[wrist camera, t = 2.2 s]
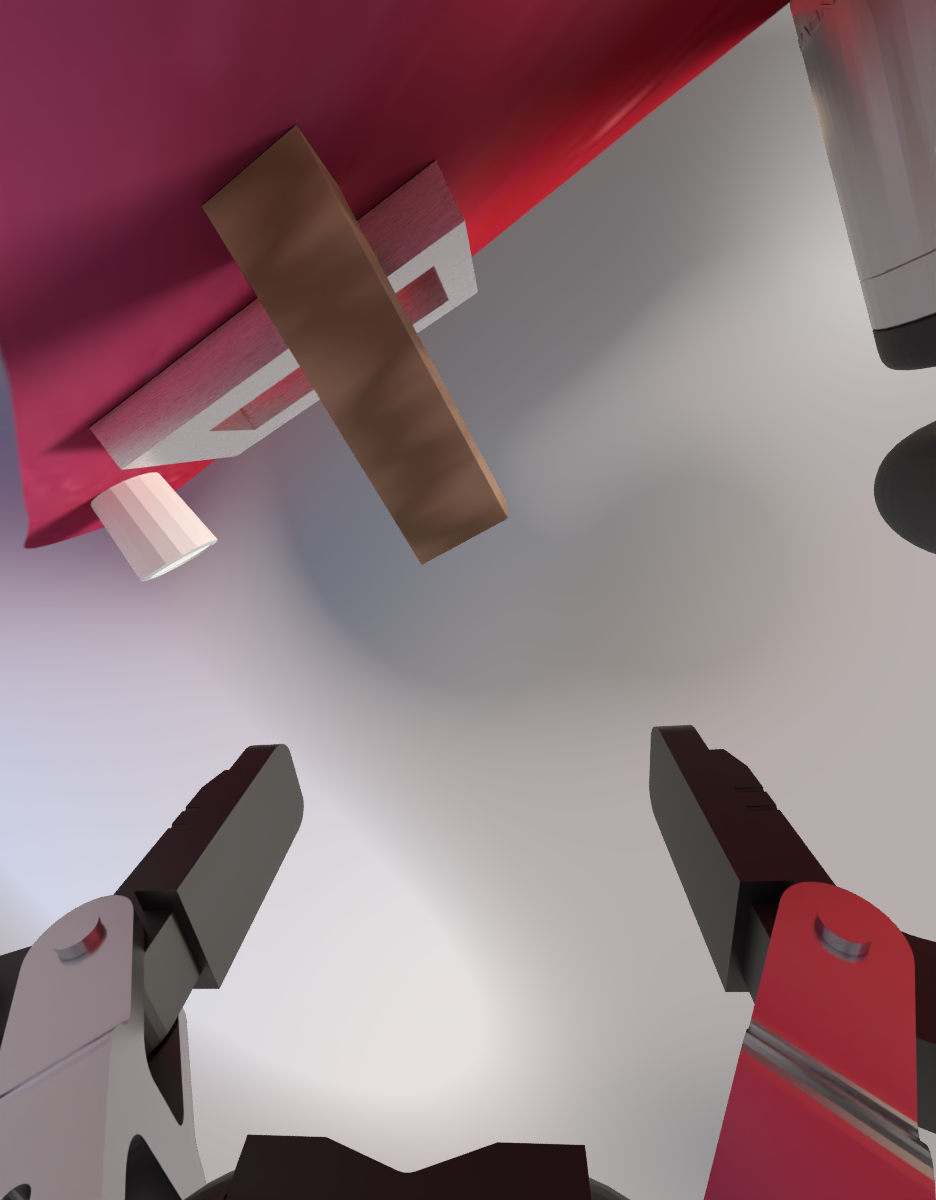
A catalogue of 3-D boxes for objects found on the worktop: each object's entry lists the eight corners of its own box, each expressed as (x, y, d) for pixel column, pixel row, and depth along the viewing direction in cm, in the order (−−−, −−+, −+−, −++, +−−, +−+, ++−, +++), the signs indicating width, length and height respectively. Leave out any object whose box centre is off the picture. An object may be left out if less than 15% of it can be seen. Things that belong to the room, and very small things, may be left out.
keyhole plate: (436, 159, 20) (464, 220, 21) (459, 254, 31) (477, 292, 32) (89, 428, 25) (121, 469, 26) (216, 426, 36) (236, 455, 37)
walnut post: (296, 124, 14) (507, 518, 18) (338, 186, 18) (506, 502, 22) (201, 206, 15) (421, 564, 19) (260, 249, 19) (434, 542, 23)
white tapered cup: (183, 464, 41) (233, 533, 43) (130, 502, 43) (180, 567, 45) (121, 473, 35) (184, 554, 36) (62, 517, 36) (125, 592, 38)
